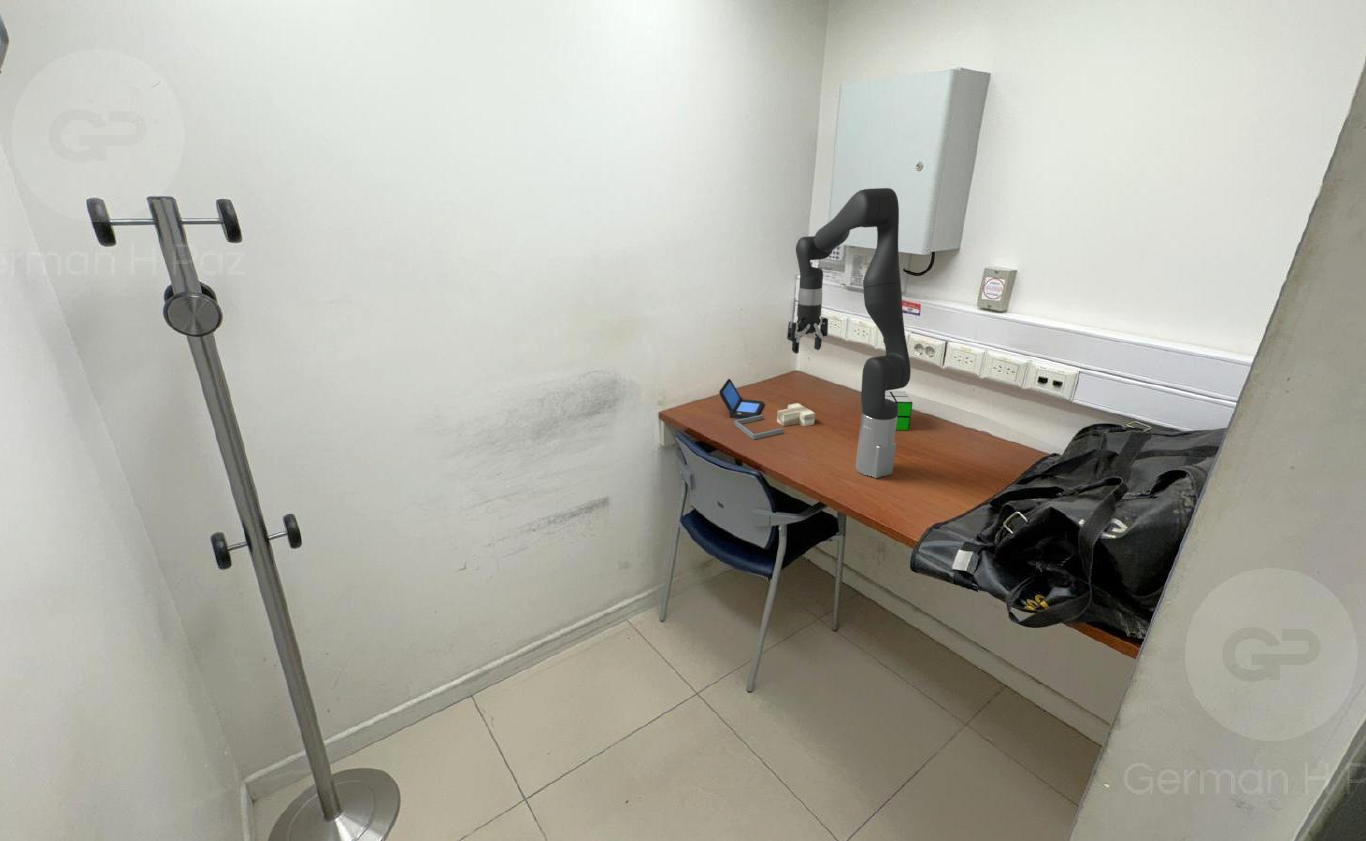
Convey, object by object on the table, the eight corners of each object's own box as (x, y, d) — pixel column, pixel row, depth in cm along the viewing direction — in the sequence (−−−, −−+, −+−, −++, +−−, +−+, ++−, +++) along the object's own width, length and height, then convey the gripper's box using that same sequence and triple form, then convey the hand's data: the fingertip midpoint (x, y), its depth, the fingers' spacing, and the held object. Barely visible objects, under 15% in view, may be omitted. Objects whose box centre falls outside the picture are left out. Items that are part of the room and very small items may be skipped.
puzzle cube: (901, 418, 196) (905, 390, 192) (908, 431, 187) (913, 402, 183) (870, 418, 197) (874, 390, 193) (876, 430, 188) (880, 401, 184)
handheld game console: (756, 421, 197) (757, 395, 193) (718, 417, 201) (718, 392, 197) (764, 404, 210) (765, 380, 207) (728, 400, 214) (728, 377, 210)
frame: (783, 433, 187) (783, 428, 187) (753, 439, 183) (753, 435, 183) (762, 418, 198) (762, 414, 197) (733, 424, 194) (734, 420, 193)
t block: (814, 424, 193) (815, 413, 192) (788, 429, 189) (789, 418, 188) (796, 413, 202) (797, 403, 200) (772, 418, 198) (772, 407, 196)
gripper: (798, 306, 179) (795, 357, 185) (835, 301, 184) (831, 351, 191) (784, 302, 185) (781, 351, 191) (820, 297, 190) (817, 345, 197)
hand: (806, 351), depth 191 cm, fingers open, 8 cm apart
